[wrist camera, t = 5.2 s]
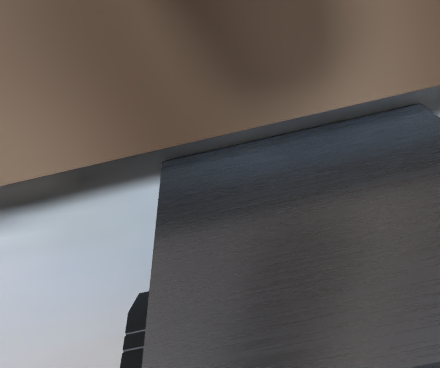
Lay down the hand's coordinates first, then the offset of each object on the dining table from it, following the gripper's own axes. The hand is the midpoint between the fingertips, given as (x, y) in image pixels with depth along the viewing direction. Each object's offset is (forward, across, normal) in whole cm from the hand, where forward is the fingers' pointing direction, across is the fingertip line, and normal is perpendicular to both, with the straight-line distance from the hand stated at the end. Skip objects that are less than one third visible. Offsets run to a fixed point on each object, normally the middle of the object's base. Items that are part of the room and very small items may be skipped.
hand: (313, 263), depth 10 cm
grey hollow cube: (+1, 0, 0) cm, 1 cm away
